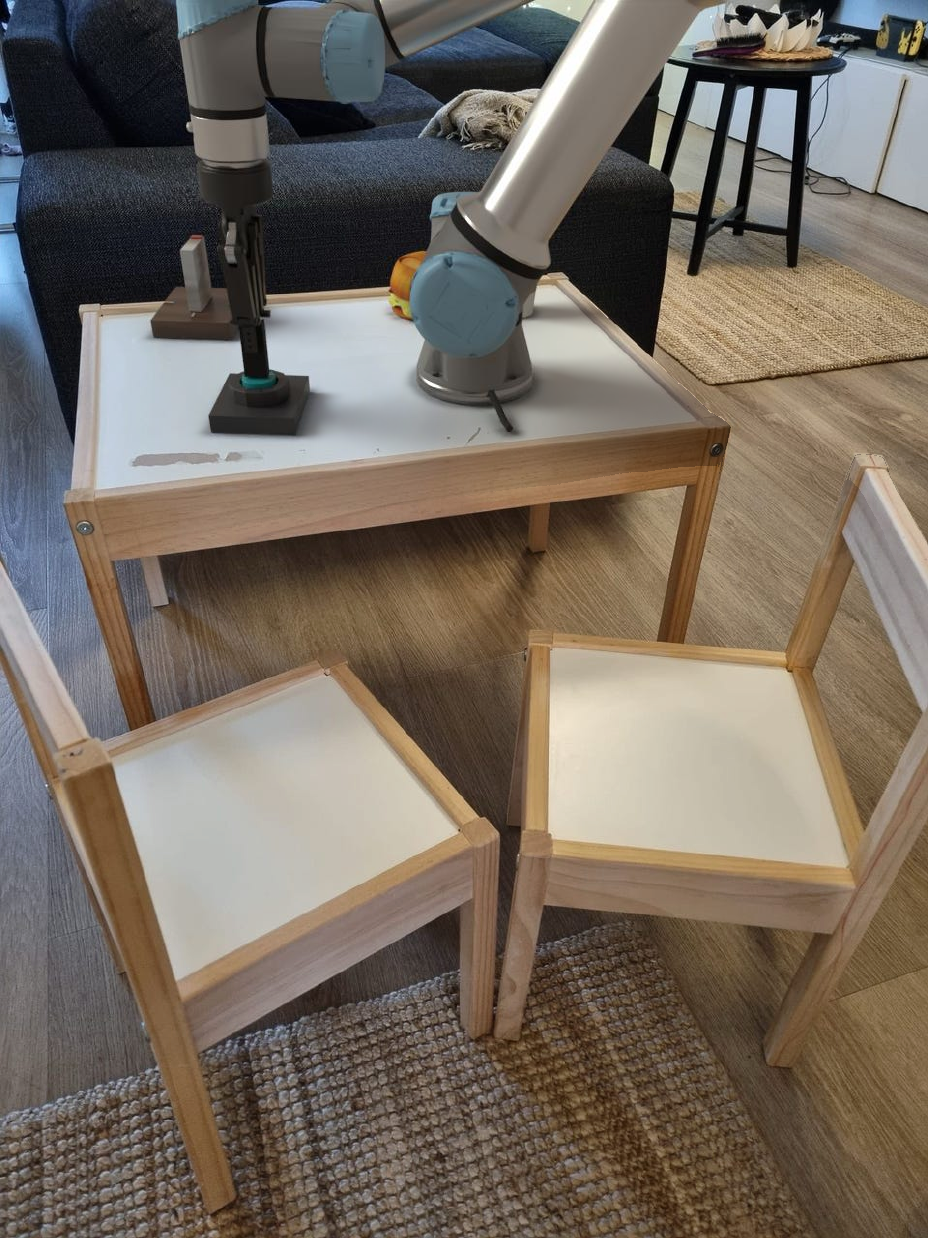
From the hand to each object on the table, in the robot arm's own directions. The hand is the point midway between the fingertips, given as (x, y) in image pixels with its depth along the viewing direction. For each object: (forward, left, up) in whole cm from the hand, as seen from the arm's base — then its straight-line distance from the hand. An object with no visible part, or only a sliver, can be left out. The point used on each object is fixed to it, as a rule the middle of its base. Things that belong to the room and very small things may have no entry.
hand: (257, 374), depth 110 cm
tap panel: (+29, +14, -5) cm, 32 cm away
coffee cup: (+37, -32, -5) cm, 49 cm away
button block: (0, 0, -5) cm, 5 cm away
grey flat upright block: (+29, +14, -2) cm, 32 cm away
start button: (0, 0, -2) cm, 2 cm away
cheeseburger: (+35, -18, -5) cm, 40 cm away
